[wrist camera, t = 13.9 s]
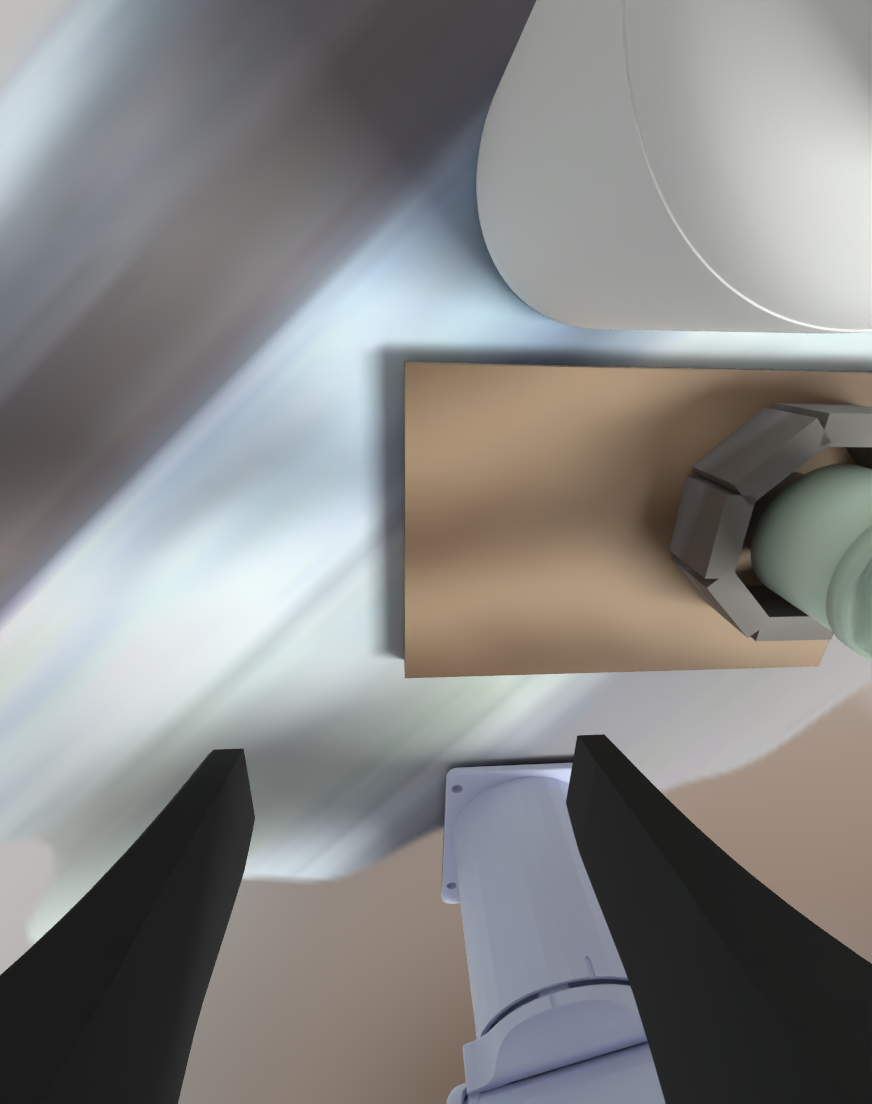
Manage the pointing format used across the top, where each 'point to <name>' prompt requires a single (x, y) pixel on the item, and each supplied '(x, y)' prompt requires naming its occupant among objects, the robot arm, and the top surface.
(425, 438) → the stud board
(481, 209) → the pill bottle
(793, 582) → the cap
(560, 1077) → the robot arm
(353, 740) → the top surface
